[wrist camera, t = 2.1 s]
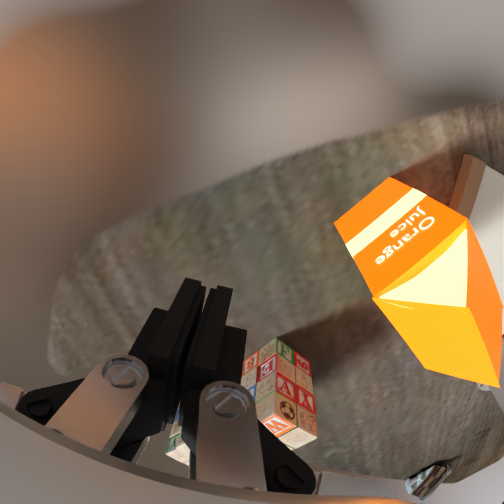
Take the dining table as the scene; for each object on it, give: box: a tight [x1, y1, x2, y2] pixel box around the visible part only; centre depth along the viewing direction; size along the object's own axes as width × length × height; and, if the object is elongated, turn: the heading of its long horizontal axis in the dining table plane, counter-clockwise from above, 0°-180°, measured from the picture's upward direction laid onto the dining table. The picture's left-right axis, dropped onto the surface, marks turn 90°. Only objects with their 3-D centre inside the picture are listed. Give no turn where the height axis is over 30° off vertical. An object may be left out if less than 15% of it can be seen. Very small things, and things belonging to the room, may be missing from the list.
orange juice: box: [334, 177, 503, 388], centre depth 21 cm, size 8×9×20 cm
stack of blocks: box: [166, 337, 317, 466], centre depth 35 cm, size 21×6×12 cm, turn 138°
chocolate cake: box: [405, 464, 452, 504], centre depth 49 cm, size 10×7×12 cm
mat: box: [448, 154, 504, 334], centre depth 30 cm, size 22×20×2 cm
